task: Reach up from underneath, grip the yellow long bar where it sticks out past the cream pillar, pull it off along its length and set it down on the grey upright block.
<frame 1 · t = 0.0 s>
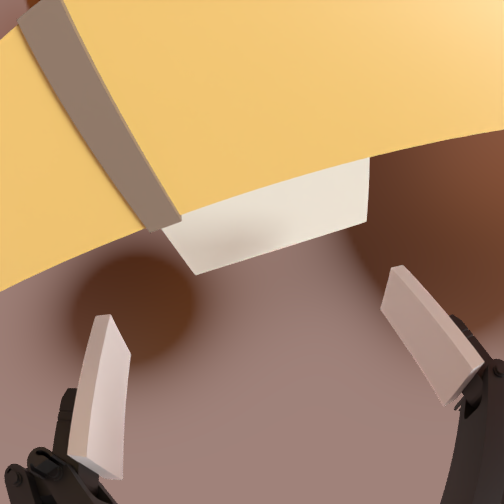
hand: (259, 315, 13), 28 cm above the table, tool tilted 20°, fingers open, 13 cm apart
yellow long bar: (222, 35, 5), point 27 cm above the table, touching cream pillar
grey upright block: (221, 75, 29), on the table
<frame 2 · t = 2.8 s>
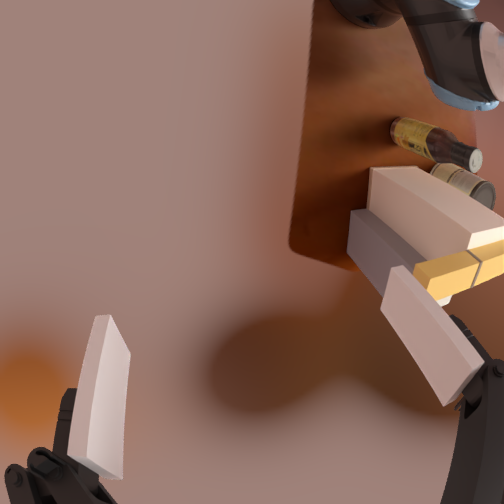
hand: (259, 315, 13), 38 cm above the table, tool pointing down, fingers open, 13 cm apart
coffee can: (440, 180, 57), on the table
sauce bottle: (400, 131, 49), on the table
yellow long bar: (470, 259, 33), point 27 cm above the table, touching cream pillar
cream pillar: (392, 187, 56), on the table
grey upright block: (372, 228, 60), on the table
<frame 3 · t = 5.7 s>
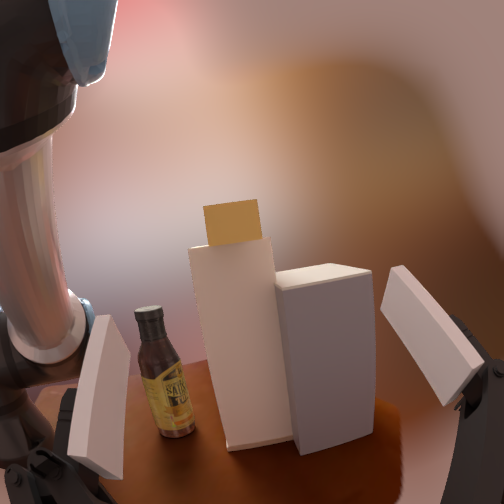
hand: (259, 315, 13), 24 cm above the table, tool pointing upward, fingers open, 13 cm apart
sauce bottle: (178, 429, 39), on the table
yellow long bar: (228, 242, 34), point 27 cm above the table, touching cream pillar
cream pillar: (256, 422, 39), on the table
grey upright block: (323, 421, 36), on the table
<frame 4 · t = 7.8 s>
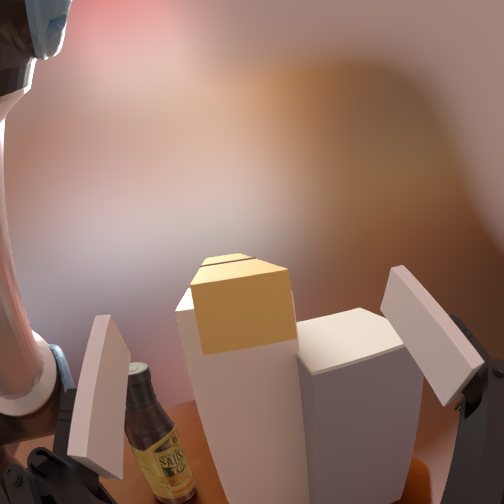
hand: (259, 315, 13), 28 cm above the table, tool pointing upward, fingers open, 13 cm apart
sauce bottle: (176, 492, 28), on the table
yellow long bar: (232, 297, 24), point 27 cm above the table, touching cream pillar
cream pillar: (266, 486, 29), on the table
grey upright block: (344, 486, 26), on the table
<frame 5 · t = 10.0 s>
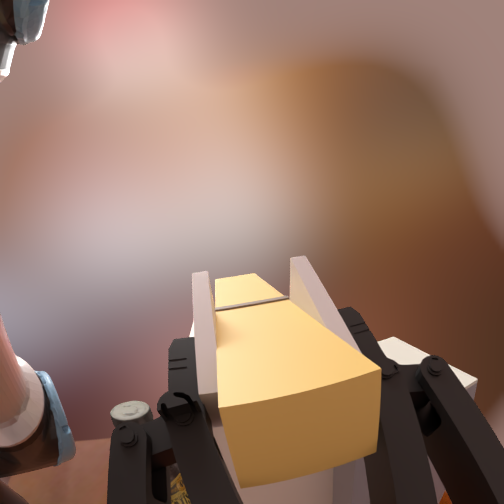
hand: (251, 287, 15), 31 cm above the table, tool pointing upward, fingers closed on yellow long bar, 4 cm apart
yellow long bar: (254, 343, 18), point 27 cm above the table, touching cream pillar, gripper
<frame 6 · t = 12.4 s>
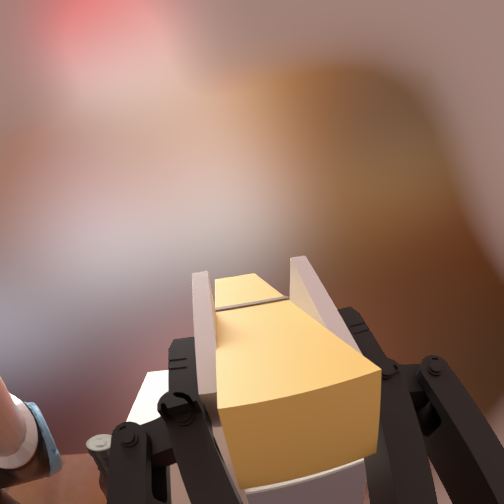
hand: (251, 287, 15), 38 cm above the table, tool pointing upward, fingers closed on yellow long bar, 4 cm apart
yellow long bar: (254, 343, 18), point 34 cm above the table, touching gripper
when the fingers open (28 cm above the table, at t = 15.0 s): yellow long bar drops 2 cm, resting on grey upright block.
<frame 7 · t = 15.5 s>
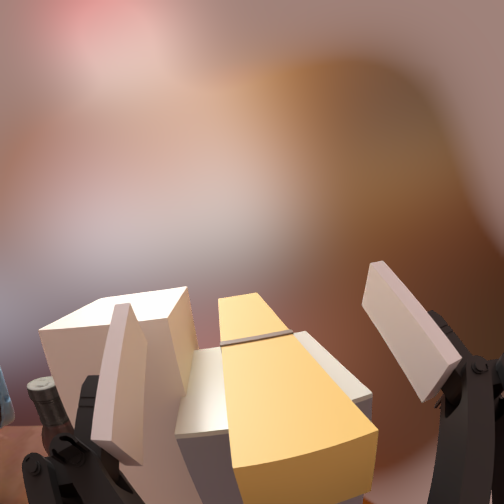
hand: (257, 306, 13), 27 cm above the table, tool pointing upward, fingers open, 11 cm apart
yellow long bar: (258, 371, 18), point 22 cm above the table, touching grey upright block
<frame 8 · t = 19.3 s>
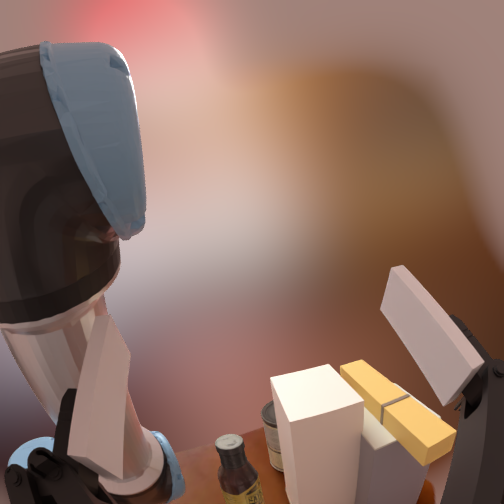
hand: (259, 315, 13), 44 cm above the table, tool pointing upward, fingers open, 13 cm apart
coffee can: (293, 458, 51), on the table
yellow long bar: (387, 411, 32), point 22 cm above the table, touching grey upright block
grey upright block: (374, 500, 33), on the table
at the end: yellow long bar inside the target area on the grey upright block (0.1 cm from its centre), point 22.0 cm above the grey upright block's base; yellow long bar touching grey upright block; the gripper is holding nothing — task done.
